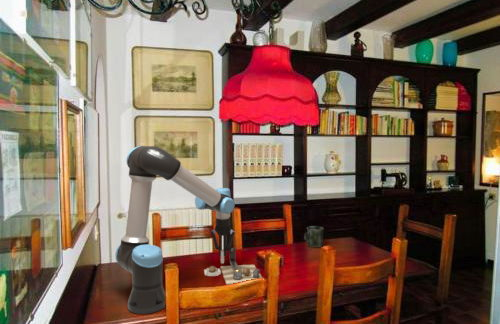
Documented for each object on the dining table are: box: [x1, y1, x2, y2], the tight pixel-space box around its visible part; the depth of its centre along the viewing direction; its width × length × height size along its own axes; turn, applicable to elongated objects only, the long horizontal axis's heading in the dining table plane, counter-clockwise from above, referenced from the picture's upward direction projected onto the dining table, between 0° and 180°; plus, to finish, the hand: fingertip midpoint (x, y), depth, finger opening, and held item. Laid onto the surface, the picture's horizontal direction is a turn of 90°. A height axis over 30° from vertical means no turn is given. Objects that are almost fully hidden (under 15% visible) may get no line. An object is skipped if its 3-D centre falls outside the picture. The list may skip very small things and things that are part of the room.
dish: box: [203, 267, 222, 277], centre depth 175 cm, size 8×8×2 cm
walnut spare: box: [208, 265, 217, 273], centre depth 175 cm, size 4×4×4 cm
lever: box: [229, 247, 242, 276], centre depth 174 cm, size 20×5×10 cm, turn 12°
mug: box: [303, 225, 325, 248], centre depth 228 cm, size 11×15×12 cm
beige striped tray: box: [219, 264, 263, 285], centre depth 174 cm, size 23×18×5 cm
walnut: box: [243, 268, 250, 276], centre depth 171 cm, size 4×4×4 cm
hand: (222, 262), depth 182 cm, fingers closed
